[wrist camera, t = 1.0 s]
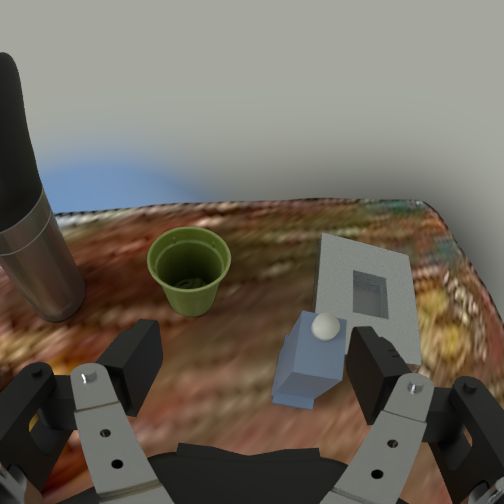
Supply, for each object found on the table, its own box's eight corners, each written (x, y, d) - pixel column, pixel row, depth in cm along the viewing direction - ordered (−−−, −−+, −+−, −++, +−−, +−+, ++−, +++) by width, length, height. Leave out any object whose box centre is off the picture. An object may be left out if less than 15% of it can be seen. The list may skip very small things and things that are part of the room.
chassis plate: (411, 371, 34) (421, 365, 32) (305, 355, 35) (310, 347, 33) (401, 264, 47) (408, 255, 46) (317, 243, 48) (322, 232, 47)
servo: (305, 413, 30) (345, 390, 21) (268, 406, 30) (293, 382, 21) (316, 340, 36) (351, 291, 27) (283, 333, 37) (308, 281, 27)
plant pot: (205, 260, 43) (205, 216, 37) (240, 309, 39) (246, 269, 32) (147, 285, 39) (136, 242, 33) (176, 340, 35) (167, 305, 28)
